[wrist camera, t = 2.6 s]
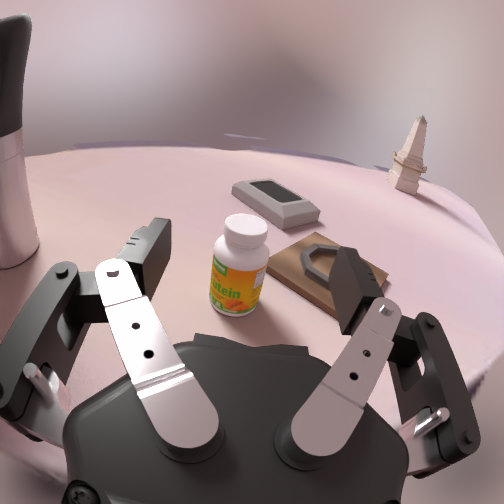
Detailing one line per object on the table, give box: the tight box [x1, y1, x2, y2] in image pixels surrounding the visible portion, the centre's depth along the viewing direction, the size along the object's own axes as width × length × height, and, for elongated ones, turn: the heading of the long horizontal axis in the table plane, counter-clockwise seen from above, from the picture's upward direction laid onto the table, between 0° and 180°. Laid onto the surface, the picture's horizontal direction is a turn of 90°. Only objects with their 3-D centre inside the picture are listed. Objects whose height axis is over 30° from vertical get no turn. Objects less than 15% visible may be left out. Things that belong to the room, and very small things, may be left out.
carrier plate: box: [266, 232, 389, 320], centre depth 37 cm, size 14×14×2 cm
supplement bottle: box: [209, 214, 269, 317], centre depth 28 cm, size 5×5×10 cm
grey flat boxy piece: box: [231, 179, 320, 230], centre depth 52 cm, size 10×4×15 cm
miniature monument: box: [386, 115, 427, 195], centre depth 82 cm, size 10×10×30 cm
